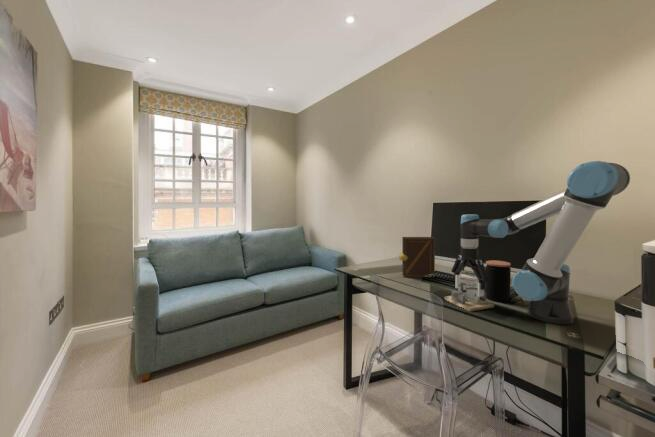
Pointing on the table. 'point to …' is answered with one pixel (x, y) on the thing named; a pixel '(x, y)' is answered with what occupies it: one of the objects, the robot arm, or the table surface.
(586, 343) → the table surface
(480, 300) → the clip stand
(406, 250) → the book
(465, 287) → the ink box
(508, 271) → the coffee jar
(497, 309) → the table surface
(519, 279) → the robot arm
